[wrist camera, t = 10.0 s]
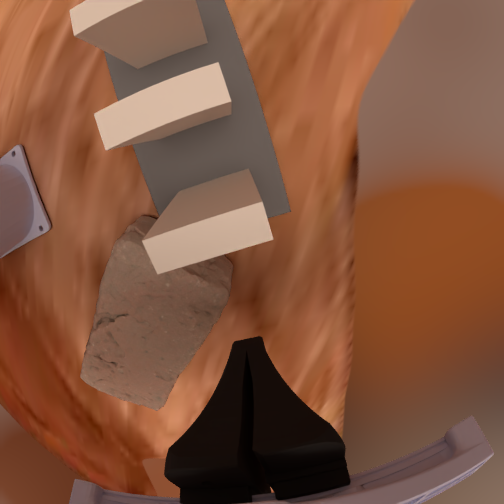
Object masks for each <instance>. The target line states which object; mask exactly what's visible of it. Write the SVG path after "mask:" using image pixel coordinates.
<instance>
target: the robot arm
mask: <svg viewBox="0 0 504 504" xmlns="http://www.w3.org/2000/svg"><path fill="white" fill-rule="evenodd" d="M14 152H15V155H14ZM41 226H42V227H43V229H42V228H41ZM50 229H51V224H50V221H49V219H48V216H47V214H46V212H45V209H44V207H43V204H42V202H41V199H40V197H39V194H38V191H37V189H36V186H35V183H34V180H33V178H32V175H31V172H30V169H29V166H28V163H27V159H26V156H25V153H24V150H23V147H22V145H16V146H15V147H14V148H12V149H11V150H10V151H9V152H8V153H6V154H5V155H4V156H3V157H2V158H1V159H0V258H2V257H3V256H5V255H7V254H8V253H10V252H12V251H13V250H15V249H17V248H19V247H20V246H22V245H24V244H26V243H27V242H29V241H31V240H33V239H35V238H36V237H38V236H40V235H42V234H44V233H46V232H47V231H49V230H50ZM493 454H494V452H493V450H492V448H491V446H490V445H489V443H488V441H487V439H486V437H485V436H484V434H483V432H482V430H481V429H480V427H479V426H478V424H477V422H476V420H475V419H474V417H473V416H469V417H468V418H466V419H465V420H463V421H461V422H459V423H458V424H456V425H454V426H453V427H451V428H450V429H449V430H448V431H447V432H446V434H445V436H444V437H442V438H441V439H439V440H437V441H435V442H433V443H431V444H429V445H427V446H425V447H423V448H421V449H419V450H416V451H414V452H412V453H410V454H408V455H405V456H403V457H400V458H398V459H396V460H393V461H391V462H388V463H386V464H383V465H380V466H378V467H375V468H372V469H369V470H366V471H363V472H360V473H357V474H354V475H351V476H349V473H348V470H347V463H346V460H345V444H344V442H343V440H342V439H341V437H340V436H339V434H338V433H337V432H336V430H335V429H334V428H333V427H332V425H331V424H330V423H328V422H327V421H325V420H324V419H323V418H321V417H320V416H319V415H317V414H316V413H315V412H314V411H313V410H311V409H310V408H309V407H308V406H307V405H306V404H305V403H304V402H303V401H302V400H301V399H300V398H299V397H298V396H297V395H296V394H295V393H294V392H293V391H292V390H291V388H290V387H289V386H288V385H287V384H286V382H285V381H284V380H283V378H282V377H281V376H280V374H279V373H278V371H277V370H276V368H275V367H274V365H273V363H272V361H271V360H270V358H269V356H268V354H267V352H266V349H265V346H264V342H263V339H262V337H260V336H258V337H254V338H249V339H244V340H239V341H234V343H233V345H232V349H231V352H230V356H229V359H228V361H227V364H226V367H225V369H224V372H223V374H222V377H221V379H220V381H219V383H218V385H217V387H216V389H215V391H214V393H213V395H212V397H211V399H210V400H209V402H208V403H207V405H206V407H205V408H204V410H203V411H202V412H201V414H200V415H199V417H198V418H197V419H196V421H195V422H194V423H193V424H192V425H191V426H190V428H189V429H188V430H187V431H186V432H185V433H184V434H183V435H182V436H181V437H180V438H179V439H178V440H177V441H176V442H175V443H174V444H173V445H172V446H171V447H170V448H169V449H168V453H167V457H166V462H165V472H164V475H165V477H166V478H167V479H168V480H169V481H170V482H172V483H173V484H175V485H176V486H178V487H179V488H180V498H170V497H156V496H145V495H137V494H129V493H122V492H116V491H110V490H105V489H102V488H101V487H100V486H98V485H96V484H94V483H91V482H87V481H82V480H79V479H75V481H74V485H73V489H72V493H71V498H70V502H69V504H421V503H423V502H425V501H427V500H429V499H430V498H432V497H434V496H436V495H438V494H440V493H441V492H443V491H445V490H447V489H449V488H450V487H452V486H454V485H455V484H457V483H459V482H460V481H462V480H463V479H465V478H467V477H468V476H470V475H471V474H473V473H474V472H475V471H476V470H477V469H478V468H480V467H481V466H482V465H483V464H484V463H485V462H486V461H487V460H488V459H489V458H490V457H491V456H493ZM270 487H271V488H272V489H273V491H274V492H275V493H271V488H270Z"/></svg>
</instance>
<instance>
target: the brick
mask: <svg viewBox="0 0 504 504" xmlns="http://www.w3.org/2000/svg"><path fill="white" fill-rule="evenodd" d="M156 221H157V219H155V218H152V217H147V216H140V217H139V218H138V219H137V220H136V221H135V223H133V224H131V225H129V226H128V227H127V229H126V231H125V233H124V234H122V236H121V237H120V238H119V239H117V240H116V242H115V244H114V247H113V249H112V252H111V256H110V258H109V261H108V263H107V265H106V270H105V272H104V275H103V277H102V280H101V284H100V289H99V298H98V301H97V304H96V313H95V315H94V323H93V328H92V331H91V333H90V336H89V340H88V342H87V345H86V351H85V353H84V359H83V363H82V370H81V379H82V380H83V381H84V382H86V383H87V384H89V385H90V386H92V387H94V388H96V389H98V390H99V391H102V392H104V393H107V394H109V395H111V396H115V397H117V398H119V399H121V400H124V401H130V402H132V403H135V404H138V405H144V406H146V407H148V408H151V409H154V410H156V411H158V410H159V409H160V408H161V407H164V405H165V403H166V401H167V399H168V396H169V393H170V392H171V390H172V388H173V387H174V384H175V382H176V380H177V378H178V376H179V374H180V373H182V371H183V370H184V369H185V368H186V366H187V365H188V364H189V362H190V361H191V359H192V358H193V356H194V355H195V353H196V352H197V350H198V349H199V348H200V346H201V345H202V344H203V342H204V341H205V339H206V337H207V336H208V334H209V333H210V331H211V329H212V327H213V325H214V324H215V323H216V322H217V321H218V319H219V318H220V315H221V313H222V310H223V308H224V307H225V306H226V304H227V302H228V299H229V296H230V290H231V280H232V272H233V265H232V263H231V261H229V260H228V259H227V258H226V257H225V255H220V256H217V257H214V258H210V259H207V260H204V261H200V262H197V263H194V264H190V265H187V266H184V267H181V268H177V269H174V270H171V271H167V272H164V273H161V274H157V272H156V270H155V268H154V266H153V264H152V262H151V260H150V257H149V255H148V253H147V251H146V249H145V247H144V244H143V242H142V240H143V239H144V237H145V236H146V234H147V233H148V232H149V230H150V229H151V228H152V226H153V225H154V223H155V222H156Z"/></svg>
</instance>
